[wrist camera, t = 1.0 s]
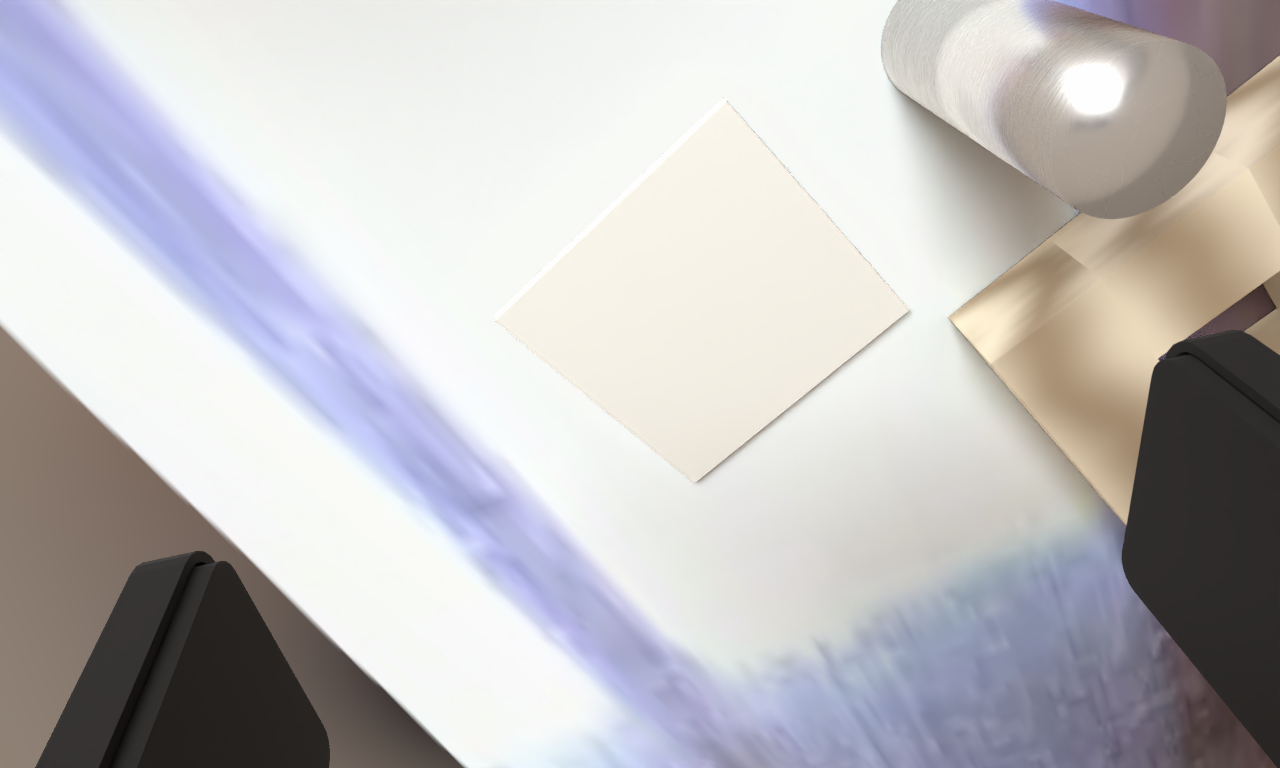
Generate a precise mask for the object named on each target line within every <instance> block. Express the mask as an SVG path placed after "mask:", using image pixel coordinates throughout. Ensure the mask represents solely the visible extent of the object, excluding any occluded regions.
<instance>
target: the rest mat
mask: <svg viewBox="0 0 1280 768" xmlns="http://www.w3.org/2000/svg"><path fill="white" fill-rule="evenodd" d="M908 311H909V309H908V308H907V307H906V305H905V304H904V303H903V302H902V301H901V300H900V298H899V297H898V296H897V295H896V294H895V293H894V292H893V290H892V289H891V288H890V287H889V286H888V285H887V284H886V282H885V281H884V280H883V279H882V278H881V277H880V276H879V274H878V273H877V272H876V271H875V270H874V269H873V268H872V266H871V265H870V264H869V263H868V262H867V261H866V260H865V258H864V257H863V256H862V255H861V254H860V253H859V252H858V250H857V249H856V248H855V247H854V246H853V245H852V244H851V242H850V241H849V240H848V239H847V238H846V237H845V236H844V235H843V233H842V232H841V231H840V230H839V229H838V228H837V227H836V225H835V224H834V223H833V222H832V221H831V220H830V219H829V217H828V216H827V215H826V214H825V213H824V212H823V211H822V209H821V208H820V207H819V206H818V205H817V204H816V203H815V201H814V200H813V199H812V198H811V197H810V196H809V195H808V193H807V192H806V191H805V190H804V189H803V188H802V187H801V185H800V184H799V183H798V182H797V181H796V180H795V179H794V177H793V176H792V175H791V174H790V173H789V172H788V171H787V169H786V168H785V167H784V166H783V165H782V164H781V163H780V161H779V160H778V159H777V158H776V157H775V156H774V155H773V153H772V152H771V151H770V150H769V149H768V148H767V147H766V145H765V144H764V143H763V142H762V141H761V140H760V139H759V137H758V136H757V135H756V134H755V133H754V132H753V131H752V129H751V128H750V127H749V126H748V125H747V124H746V123H745V121H744V120H743V119H742V118H741V117H740V116H739V115H738V113H737V112H736V111H735V110H734V109H733V108H732V107H731V105H730V104H729V103H728V102H727V101H726V100H725V99H724V97H723V98H722V99H721V100H720V101H719V102H718V103H717V104H715V105H714V106H713V107H712V108H711V109H710V110H709V111H708V112H707V113H706V114H705V115H704V116H703V117H702V118H701V119H700V120H699V121H698V122H697V123H695V124H694V125H693V126H692V127H691V128H690V129H689V130H688V131H687V132H686V133H685V134H684V135H683V136H682V137H681V138H680V139H679V140H678V141H677V142H676V143H674V144H673V145H672V146H671V147H670V148H669V149H668V150H667V151H666V152H665V153H664V154H663V155H662V156H661V157H660V158H659V159H658V160H657V161H656V162H655V163H653V164H652V165H651V166H650V167H649V168H648V169H647V170H646V171H645V172H644V173H643V174H642V175H641V176H640V177H639V178H638V179H637V180H636V181H635V182H634V183H632V184H631V185H630V186H629V187H628V188H627V189H626V190H625V191H624V192H623V193H622V194H621V195H620V196H619V197H618V198H617V199H616V200H615V201H614V202H613V203H611V204H610V205H609V206H608V207H607V208H606V209H605V210H604V211H603V212H602V213H601V214H600V215H599V216H598V217H597V218H596V219H595V220H594V221H593V222H592V223H590V224H589V225H588V226H587V227H586V228H585V229H584V230H583V231H582V232H581V233H580V234H579V235H578V236H577V237H576V238H575V239H574V240H573V241H572V242H571V243H569V244H568V245H567V246H566V247H565V248H564V249H563V250H562V251H561V252H560V253H559V254H558V255H557V256H556V257H555V258H554V259H553V260H552V261H551V262H550V263H548V264H547V265H546V266H545V267H544V268H543V269H542V270H541V271H540V272H539V273H538V274H537V275H536V276H535V277H534V278H533V279H532V280H531V281H530V282H529V283H527V284H526V285H525V286H524V287H523V288H522V289H521V290H520V291H519V292H518V293H517V294H516V295H515V296H514V297H513V298H512V299H511V300H510V301H509V302H507V303H506V304H505V305H504V306H503V307H502V308H501V309H500V310H499V311H498V312H497V313H496V314H495V322H496V323H498V324H499V325H500V326H501V327H503V328H504V329H505V330H506V331H507V332H509V333H510V334H511V335H512V336H514V337H515V338H516V339H517V340H519V341H520V342H521V343H522V344H523V345H525V346H526V347H527V348H528V349H530V350H531V351H532V352H533V353H534V354H536V355H537V356H538V357H539V358H541V359H542V360H543V361H544V362H546V363H547V364H548V365H549V366H550V367H552V368H553V369H554V370H555V371H557V372H558V373H559V374H560V375H561V376H563V377H564V378H565V379H566V380H568V381H569V382H570V383H571V384H573V385H574V386H575V387H576V388H577V389H579V390H580V391H581V392H582V393H584V394H585V395H586V396H587V397H588V398H590V399H591V400H592V401H593V402H595V403H596V404H597V405H598V406H600V407H601V408H602V409H603V410H604V411H606V412H607V413H608V414H609V415H611V416H612V417H613V418H614V419H615V420H617V421H618V422H619V423H620V424H622V425H623V426H624V427H625V428H627V429H628V430H629V431H630V432H631V433H633V434H634V435H635V436H636V437H638V438H639V439H640V440H641V441H643V442H644V443H645V444H646V445H647V446H649V447H650V448H651V449H652V450H654V451H655V452H656V453H657V454H658V455H660V456H661V457H662V458H663V459H665V460H666V461H667V462H668V463H670V464H671V465H672V466H673V467H674V468H676V469H677V470H678V471H679V472H681V473H682V474H683V475H684V476H685V477H687V478H688V479H689V480H690V481H692V482H693V483H696V482H697V481H698V480H699V479H701V478H702V477H703V476H704V475H705V474H707V473H708V472H709V471H710V470H712V469H713V468H714V467H715V466H717V465H718V464H719V463H720V462H722V461H723V460H724V459H725V458H727V457H728V456H729V455H730V454H732V453H733V452H734V451H735V450H737V449H738V448H739V447H740V446H742V445H743V444H744V443H745V442H746V441H748V440H749V439H750V438H751V437H753V436H754V435H755V434H756V433H758V432H759V431H760V430H761V429H763V428H764V427H765V426H766V425H768V424H769V423H770V422H771V421H773V420H774V419H775V418H776V417H778V416H779V415H780V414H781V413H783V412H784V411H785V410H786V409H787V408H789V407H790V406H791V405H792V404H794V403H795V402H796V401H797V400H799V399H800V398H801V397H802V396H804V395H805V394H806V393H807V392H809V391H810V390H811V389H812V388H814V387H815V386H816V385H817V384H819V383H820V382H821V381H822V380H824V379H825V378H826V377H827V376H828V375H830V374H831V373H832V372H833V371H835V370H836V369H837V368H838V367H840V366H841V365H842V364H843V363H845V362H846V361H847V360H848V359H850V358H851V357H852V356H853V355H855V354H856V353H857V352H858V351H860V350H861V349H862V348H863V347H864V346H866V345H867V344H868V343H869V342H871V341H872V340H873V339H874V338H876V337H877V336H878V335H879V334H881V333H882V332H883V331H884V330H886V329H887V328H888V327H889V326H891V325H892V324H893V323H894V322H896V321H897V320H898V319H899V318H901V317H902V316H903V315H904V314H905V313H907V312H908Z"/></svg>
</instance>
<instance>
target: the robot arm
mask: <svg viewBox="0 0 1280 768" xmlns="http://www.w3.org/2000/svg"><path fill="white" fill-rule="evenodd" d="M1122 564H1123V569H1124V572H1125V575H1126V578H1127V580H1128V582H1129V584H1130V586H1131V587H1132V589H1133V590H1134V592H1135V593H1136V594H1137V595H1138V596H1139V598H1140V599H1141V600H1142V601H1143V603H1144V604H1145V605H1146V606H1147V608H1148V609H1149V610H1150V611H1151V612H1152V614H1153V615H1154V616H1155V617H1156V619H1157V620H1158V621H1159V622H1160V624H1161V625H1162V626H1163V627H1164V628H1165V630H1166V631H1167V632H1168V633H1169V635H1170V636H1171V637H1172V638H1173V640H1174V641H1175V642H1176V643H1177V644H1178V646H1179V647H1180V648H1181V649H1182V651H1183V652H1184V653H1185V654H1186V656H1187V657H1188V658H1189V659H1190V660H1191V662H1192V663H1193V664H1194V665H1195V667H1196V668H1197V669H1198V670H1199V672H1200V673H1201V674H1202V675H1203V676H1204V678H1205V679H1206V680H1207V681H1208V683H1209V684H1210V685H1211V686H1212V688H1213V689H1214V690H1215V691H1216V692H1217V694H1218V695H1219V696H1220V697H1221V699H1222V700H1223V701H1224V702H1225V704H1226V705H1227V706H1228V707H1229V708H1230V710H1231V711H1232V712H1233V713H1234V715H1235V716H1236V717H1237V718H1238V720H1239V721H1240V722H1241V723H1242V725H1243V726H1244V727H1245V728H1246V729H1247V731H1248V732H1249V733H1250V734H1251V736H1252V737H1253V738H1254V739H1255V741H1256V742H1257V743H1258V744H1259V745H1260V747H1261V748H1262V749H1263V750H1264V752H1265V753H1266V754H1267V755H1268V757H1269V758H1270V759H1271V760H1272V761H1273V763H1274V764H1275V765H1276V766H1277V768H1280V355H1279V354H1277V353H1276V352H1274V351H1273V350H1272V349H1270V348H1269V347H1267V346H1266V345H1264V344H1263V343H1262V342H1260V341H1259V340H1257V339H1256V338H1254V337H1253V336H1252V335H1250V334H1247V333H1245V332H1243V331H1238V330H1231V331H1226V332H1221V333H1217V334H1212V335H1207V336H1203V337H1198V338H1193V339H1189V340H1184V341H1180V342H1178V343H1176V344H1173V345H1172V347H1171V348H1170V349H1169V350H1168V352H1167V355H1166V358H1165V360H1162V361H1160V362H1158V363H1157V364H1156V365H1155V367H1154V369H1153V372H1152V376H1151V382H1150V388H1149V394H1148V400H1147V406H1146V412H1145V418H1144V424H1143V430H1142V436H1141V442H1140V448H1139V454H1138V460H1137V466H1136V472H1135V478H1134V484H1133V490H1132V496H1131V502H1130V508H1129V514H1128V520H1127V526H1126V532H1125V538H1124V544H1123V550H1122ZM329 761H330V748H329V740H328V736H327V733H326V730H325V728H324V726H323V724H322V723H321V720H320V719H319V717H318V715H317V713H316V712H315V710H314V708H313V706H312V705H311V703H310V701H309V699H308V698H307V696H306V694H305V693H304V691H303V689H302V687H301V685H300V684H299V682H298V680H297V678H296V677H295V675H294V673H293V671H292V670H291V668H290V666H289V664H288V662H287V661H286V659H285V657H284V656H283V654H282V652H281V650H280V648H279V647H278V645H277V643H276V641H275V640H274V638H273V636H272V634H271V633H270V631H269V629H268V627H267V626H266V624H265V622H264V620H263V619H262V617H261V615H260V613H259V612H258V610H257V608H256V606H255V605H254V603H253V601H252V599H251V598H250V596H249V594H248V592H247V591H246V589H245V587H244V585H243V584H242V582H241V580H240V578H239V577H238V575H237V573H236V571H235V570H234V569H233V567H232V566H231V565H230V564H229V563H227V562H226V561H219V562H215V561H214V560H213V559H212V557H211V556H210V555H208V554H207V553H205V552H202V551H195V552H191V553H186V554H181V555H177V556H172V557H168V558H163V559H158V560H153V561H148V562H144V563H142V564H140V565H138V566H136V568H135V569H134V570H133V572H132V573H131V575H130V576H129V578H128V581H127V582H126V585H125V587H124V589H123V591H122V593H121V595H120V597H119V599H118V601H117V603H116V605H115V607H114V609H113V611H112V613H111V615H110V617H109V619H108V621H107V623H106V625H105V627H104V629H103V631H102V633H101V635H100V637H99V639H98V641H97V643H96V645H95V648H94V650H93V652H92V654H91V656H90V658H89V660H88V662H87V664H86V666H85V668H84V670H83V672H82V674H81V676H80V678H79V680H78V682H77V684H76V686H75V688H74V690H73V692H72V694H71V696H70V698H69V701H68V702H67V704H66V707H65V709H64V710H63V713H62V714H61V717H60V719H59V721H58V723H57V725H56V727H55V729H54V731H53V733H52V735H51V737H50V739H49V741H48V743H47V745H46V747H45V749H44V751H43V753H42V755H41V757H40V759H39V761H38V763H37V765H36V767H35V768H329Z"/></svg>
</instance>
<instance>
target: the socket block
mask: <svg viewBox="0 0 1280 768" xmlns="http://www.w3.org/2000/svg"><path fill="white" fill-rule="evenodd" d="M1262 283H1263V285H1264V287H1265V289H1266V290H1267V292H1268V294H1269V295H1270V297H1271V299H1272V301H1273V302H1274V304H1275V306H1276V309H1275V310H1274V311H1272V312H1271V313H1269V314H1268V315H1267V316H1265V317H1264V318H1262V319H1261V320H1259V321H1258V322H1257V323H1255V324H1254V325H1252V326H1251V327H1250V328H1248V329H1247V330H1245V331H1244V332H1245V333H1247V334H1250V335H1252V336H1253V337H1254V338H1256V339H1257V340H1259V341H1260V342H1262V343H1263V344H1264V345H1266V346H1267V347H1269V348H1270V349H1272V350H1273V351H1274V352H1276V353H1277V354H1279V355H1280V56H1278V57H1277V58H1276V59H1275V60H1273V61H1272V62H1271V63H1270V64H1268V65H1267V66H1266V67H1265V68H1263V69H1262V70H1261V71H1259V72H1258V73H1257V74H1256V75H1254V76H1253V77H1252V78H1251V79H1249V80H1248V81H1247V82H1246V83H1244V84H1243V85H1242V86H1241V87H1239V88H1238V89H1237V90H1235V91H1234V92H1233V93H1232V94H1230V95H1229V96H1228V97H1227V106H1226V115H1225V120H1224V125H1223V128H1222V131H1221V134H1220V137H1219V139H1218V141H1217V144H1216V146H1215V148H1214V150H1213V151H1212V153H1211V155H1210V157H1209V158H1208V160H1207V161H1206V163H1205V164H1204V166H1203V167H1202V168H1201V170H1200V171H1199V172H1198V173H1197V174H1196V176H1195V177H1194V178H1193V179H1192V180H1191V181H1190V182H1189V183H1188V184H1187V185H1186V186H1185V187H1184V188H1183V189H1182V190H1180V191H1179V192H1178V193H1177V194H1176V195H1174V196H1173V197H1171V198H1170V199H1169V200H1167V201H1166V202H1164V203H1162V204H1161V205H1159V206H1157V207H1155V208H1153V209H1151V210H1149V211H1147V212H1144V213H1141V214H1138V215H1135V216H1132V217H1127V218H1121V219H1101V218H1096V217H1092V216H1089V215H1086V214H1084V213H1082V212H1081V213H1080V214H1079V215H1077V216H1076V217H1075V218H1074V219H1072V220H1071V221H1070V222H1069V223H1067V224H1066V225H1065V226H1063V227H1062V228H1061V229H1060V230H1058V231H1057V232H1056V233H1055V234H1053V235H1052V236H1051V237H1050V238H1048V239H1047V240H1046V241H1044V242H1043V243H1042V244H1041V245H1039V246H1038V247H1037V248H1036V249H1034V250H1033V251H1032V252H1031V253H1029V254H1028V255H1027V256H1026V257H1024V258H1023V259H1022V260H1020V261H1019V262H1018V263H1017V264H1015V265H1014V266H1013V267H1012V268H1010V269H1009V270H1008V271H1007V272H1005V273H1004V274H1003V275H1001V276H1000V277H999V278H998V279H996V280H995V281H994V282H993V283H991V284H990V285H989V286H988V287H986V288H985V289H984V290H982V291H981V292H980V293H979V294H977V295H976V296H975V297H974V298H972V299H971V300H970V301H969V302H967V303H966V304H965V305H964V306H962V307H961V308H960V309H958V310H957V311H956V312H955V313H953V314H952V315H951V316H950V317H948V318H949V319H950V320H951V321H952V322H953V323H954V325H955V326H956V327H957V328H958V329H959V330H960V332H961V333H962V334H963V335H964V336H965V338H966V339H967V340H968V341H969V342H970V343H971V345H972V346H973V347H974V348H975V349H976V351H977V352H978V353H979V354H980V355H981V356H982V358H983V359H984V360H985V361H986V362H987V363H988V365H989V366H990V367H991V368H992V369H993V371H994V372H995V373H996V374H997V375H998V376H999V378H1000V379H1001V380H1002V381H1003V382H1004V383H1005V385H1006V386H1007V387H1008V388H1009V389H1010V391H1011V392H1012V393H1013V394H1014V395H1015V396H1016V398H1017V399H1018V400H1019V401H1020V402H1021V404H1022V405H1023V406H1024V407H1025V408H1026V409H1027V411H1028V412H1029V413H1030V414H1031V415H1032V416H1033V418H1034V419H1035V420H1036V421H1037V422H1038V424H1039V425H1040V426H1041V427H1042V428H1043V429H1044V431H1045V432H1046V433H1047V434H1048V435H1049V437H1050V438H1051V439H1052V440H1053V441H1054V442H1055V444H1056V445H1057V446H1058V447H1059V448H1060V449H1061V451H1062V452H1063V453H1064V454H1065V455H1066V457H1067V458H1068V459H1069V460H1070V461H1071V462H1072V464H1073V465H1074V466H1075V467H1076V468H1077V469H1078V471H1079V472H1080V473H1081V474H1082V475H1083V477H1084V478H1085V479H1086V480H1087V481H1088V482H1089V484H1090V485H1091V486H1092V487H1093V488H1094V490H1095V491H1096V492H1097V493H1098V494H1099V495H1100V497H1101V498H1102V499H1103V500H1104V501H1105V502H1106V504H1107V505H1108V506H1109V507H1110V508H1111V510H1112V511H1113V512H1114V513H1115V514H1116V515H1117V516H1118V517H1119V519H1120V520H1121V521H1122V522H1123V523H1124V524H1125V525H1126V526H1127V520H1128V514H1129V508H1130V502H1131V496H1132V490H1133V484H1134V478H1135V472H1136V466H1137V460H1138V454H1139V448H1140V442H1141V436H1142V430H1143V424H1144V418H1145V412H1146V406H1147V400H1148V394H1149V388H1150V382H1151V376H1152V372H1153V369H1154V367H1155V365H1156V364H1157V363H1158V362H1160V361H1159V360H1158V358H1159V357H1161V356H1162V355H1163V354H1165V353H1166V352H1168V350H1169V349H1170V348H1171V347H1172V345H1173V344H1176V343H1178V342H1180V341H1183V340H1184V339H1186V338H1187V337H1188V336H1190V335H1191V334H1193V333H1194V332H1195V331H1197V330H1198V329H1200V328H1201V327H1202V326H1204V325H1205V324H1206V323H1208V322H1209V321H1211V320H1212V319H1213V318H1215V317H1216V316H1218V315H1219V314H1220V313H1222V312H1223V311H1225V310H1226V309H1227V308H1229V307H1230V306H1232V305H1233V304H1234V303H1236V302H1237V301H1238V300H1240V299H1241V298H1243V297H1244V296H1245V295H1247V294H1248V293H1250V292H1251V291H1252V290H1254V289H1255V288H1257V287H1258V286H1259V285H1261V284H1262Z"/></svg>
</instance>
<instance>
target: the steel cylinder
mask: <svg viewBox="0 0 1280 768" xmlns="http://www.w3.org/2000/svg"><path fill="white" fill-rule="evenodd" d="M881 56H882V62H883V66H884V69H885V71H886V74H887V76H888V77H889V79H890V81H891V82H892V83H893V84H894V85H895V87H896V88H898V89H899V90H900V91H901V92H903V93H904V94H906V95H907V96H908V97H910V98H911V99H913V100H914V101H916V102H917V103H919V104H920V105H922V106H923V107H925V108H926V109H928V110H929V111H931V112H932V113H934V114H935V115H937V116H938V117H940V118H941V119H943V120H944V121H946V122H947V123H949V124H950V125H952V126H953V127H955V128H956V129H958V130H959V131H961V132H962V133H964V134H965V135H967V136H968V137H970V138H971V139H972V140H974V141H975V142H977V143H978V144H980V145H981V146H983V147H984V148H986V149H987V150H989V151H990V152H992V153H993V154H995V155H996V156H998V157H999V158H1001V159H1002V160H1004V161H1005V162H1007V163H1008V164H1010V165H1011V166H1013V167H1014V168H1016V169H1017V170H1019V171H1020V172H1022V173H1023V174H1025V175H1026V176H1028V177H1029V178H1031V179H1032V180H1034V181H1035V182H1037V183H1038V184H1039V185H1041V186H1042V187H1044V188H1045V189H1047V190H1048V191H1050V192H1051V193H1053V194H1054V195H1056V196H1057V197H1059V198H1060V199H1062V200H1063V201H1065V202H1066V203H1068V204H1069V205H1071V206H1072V207H1074V208H1075V209H1077V210H1079V211H1080V212H1082V213H1084V214H1086V215H1089V216H1092V217H1096V218H1101V219H1121V218H1127V217H1132V216H1135V215H1138V214H1141V213H1144V212H1147V211H1149V210H1151V209H1153V208H1155V207H1157V206H1159V205H1161V204H1162V203H1164V202H1166V201H1167V200H1169V199H1170V198H1171V197H1173V196H1174V195H1176V194H1177V193H1178V192H1179V191H1180V190H1182V189H1183V188H1184V187H1185V186H1186V185H1187V184H1188V183H1189V182H1190V181H1191V180H1192V179H1193V178H1194V177H1195V176H1196V174H1197V173H1198V172H1199V171H1200V170H1201V168H1202V167H1203V166H1204V164H1205V163H1206V161H1207V160H1208V158H1209V157H1210V155H1211V153H1212V151H1213V150H1214V148H1215V146H1216V144H1217V141H1218V139H1219V137H1220V134H1221V131H1222V128H1223V125H1224V120H1225V115H1226V106H1227V96H1226V87H1225V83H1224V79H1223V76H1222V74H1221V72H1220V70H1219V68H1218V66H1217V65H1216V63H1215V62H1214V61H1213V60H1212V59H1211V58H1210V56H1209V55H1208V54H1206V53H1205V52H1203V51H1202V50H1201V49H1199V48H1197V47H1194V46H1192V45H1190V44H1187V43H1184V42H1181V41H1177V40H1174V39H1171V38H1168V37H1165V36H1162V35H1159V34H1156V33H1153V32H1149V31H1146V30H1143V29H1140V28H1137V27H1134V26H1131V25H1128V24H1125V23H1121V22H1118V21H1115V20H1112V19H1109V18H1106V17H1103V16H1100V15H1097V14H1094V13H1090V12H1087V11H1084V10H1081V9H1078V8H1075V7H1072V6H1069V5H1066V4H1062V3H1059V2H1056V1H1053V0H898V1H897V3H896V4H895V6H894V7H893V9H892V11H891V12H890V14H889V17H888V19H887V21H886V24H885V27H884V30H883V35H882V42H881Z"/></svg>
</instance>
